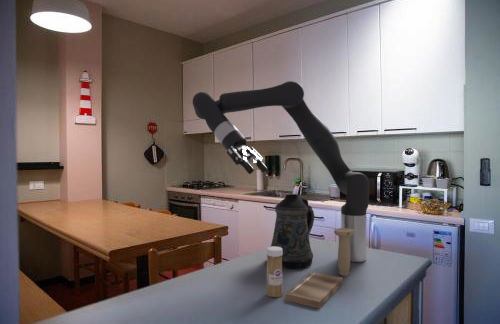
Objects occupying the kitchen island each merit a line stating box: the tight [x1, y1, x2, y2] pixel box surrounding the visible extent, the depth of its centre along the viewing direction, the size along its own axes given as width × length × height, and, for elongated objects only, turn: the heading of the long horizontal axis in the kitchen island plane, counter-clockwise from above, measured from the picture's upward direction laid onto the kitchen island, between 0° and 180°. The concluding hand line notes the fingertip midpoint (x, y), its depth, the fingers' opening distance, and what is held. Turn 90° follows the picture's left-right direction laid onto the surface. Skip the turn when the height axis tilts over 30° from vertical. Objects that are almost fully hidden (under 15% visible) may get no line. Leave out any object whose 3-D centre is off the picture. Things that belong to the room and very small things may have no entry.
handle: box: [333, 227, 354, 277], centre depth 112 cm, size 5×6×15 cm
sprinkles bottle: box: [266, 246, 283, 298], centre depth 96 cm, size 5×5×14 cm
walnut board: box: [284, 271, 344, 310], centre depth 99 cm, size 20×10×2 cm, turn 148°
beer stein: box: [270, 194, 315, 270], centre depth 127 cm, size 16×19×25 cm
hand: (259, 171), depth 109 cm, fingers open, 8 cm apart
